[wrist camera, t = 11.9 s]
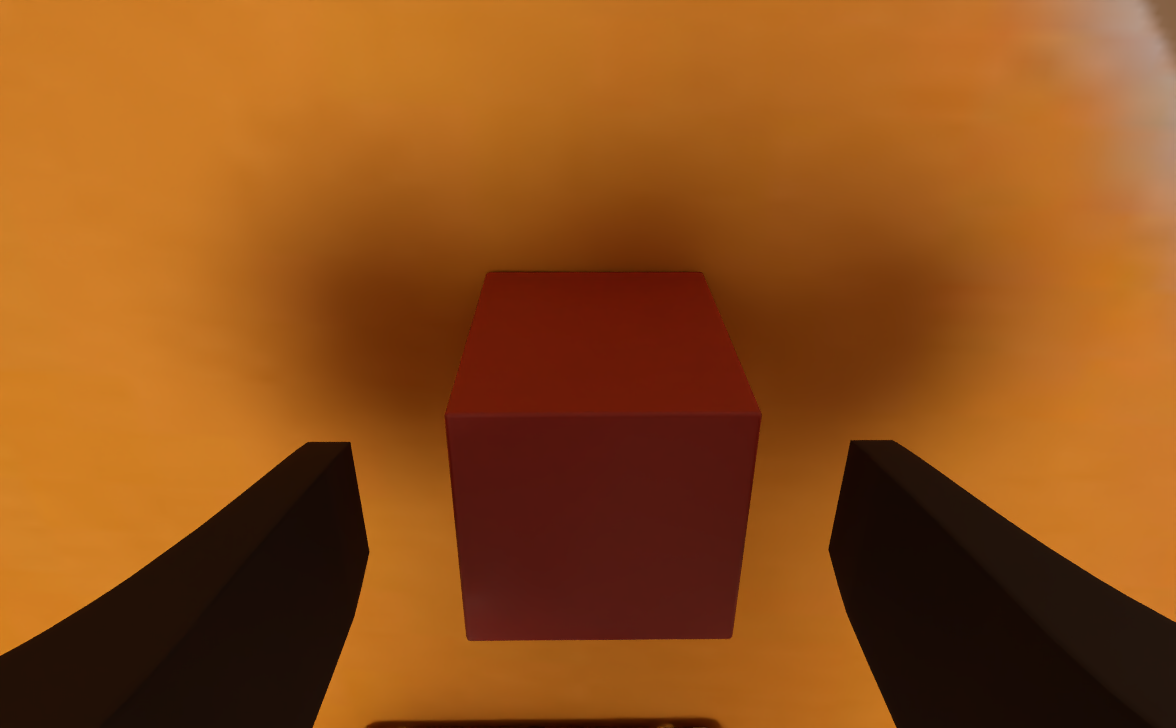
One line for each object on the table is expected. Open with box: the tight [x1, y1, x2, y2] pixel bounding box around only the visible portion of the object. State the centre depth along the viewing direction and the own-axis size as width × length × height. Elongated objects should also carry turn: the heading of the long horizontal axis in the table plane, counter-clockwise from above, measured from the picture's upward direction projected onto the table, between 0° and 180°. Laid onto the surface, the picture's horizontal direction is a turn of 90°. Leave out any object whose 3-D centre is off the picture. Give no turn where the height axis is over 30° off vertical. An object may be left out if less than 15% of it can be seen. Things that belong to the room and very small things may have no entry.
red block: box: [444, 272, 762, 641], centre depth 12 cm, size 4×4×5 cm
